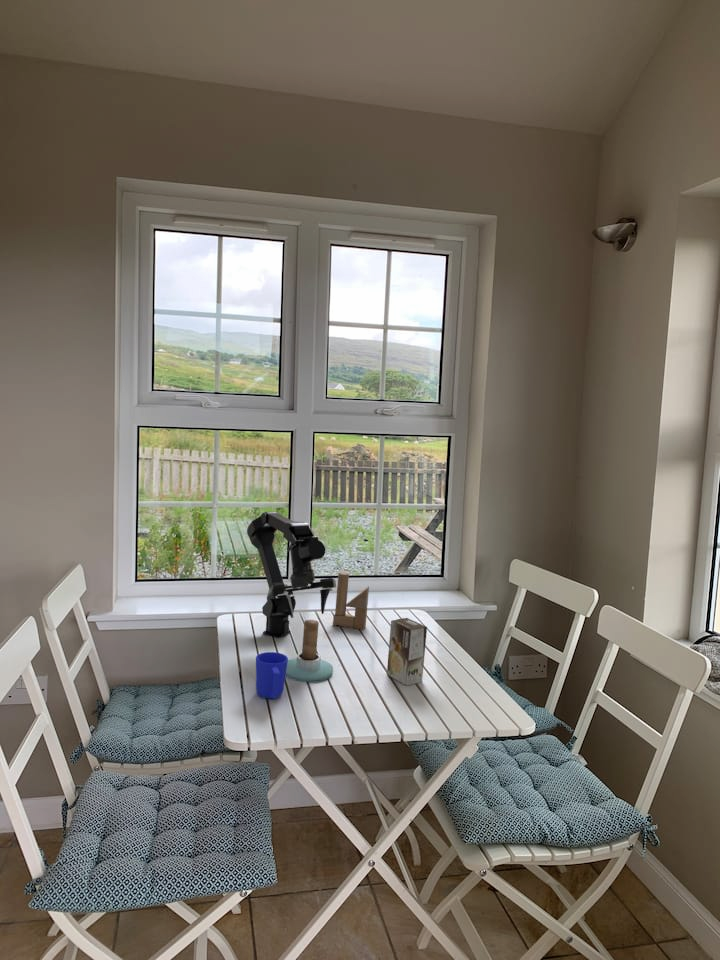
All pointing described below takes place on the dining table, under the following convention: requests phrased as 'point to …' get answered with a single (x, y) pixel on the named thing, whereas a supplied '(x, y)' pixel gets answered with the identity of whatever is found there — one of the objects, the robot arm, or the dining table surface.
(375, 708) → the dining table surface
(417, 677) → the coffee box
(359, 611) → the wooden block
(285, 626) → the robot arm
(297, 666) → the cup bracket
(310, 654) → the dowel
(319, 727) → the dining table surface
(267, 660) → the mug
